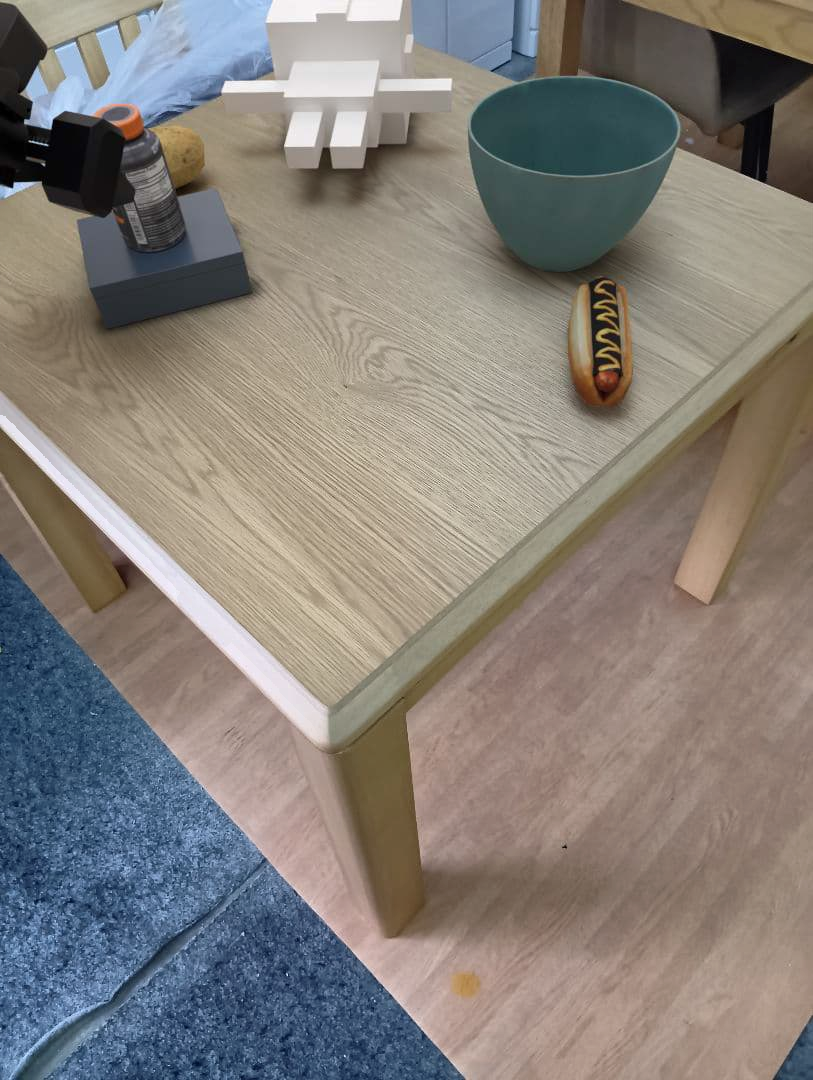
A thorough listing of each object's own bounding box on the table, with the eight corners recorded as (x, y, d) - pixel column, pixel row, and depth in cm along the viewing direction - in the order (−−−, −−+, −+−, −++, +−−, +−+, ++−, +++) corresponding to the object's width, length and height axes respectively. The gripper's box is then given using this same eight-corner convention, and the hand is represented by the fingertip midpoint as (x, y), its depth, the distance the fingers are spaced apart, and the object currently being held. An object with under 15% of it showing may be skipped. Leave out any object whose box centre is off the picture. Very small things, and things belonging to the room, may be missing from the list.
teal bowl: (519, 181, 86) (528, 59, 76) (680, 226, 79) (712, 99, 69) (431, 268, 77) (428, 143, 67) (604, 327, 70) (628, 198, 61)
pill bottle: (126, 222, 76) (81, 100, 67) (187, 214, 76) (151, 91, 67) (122, 258, 73) (75, 134, 63) (187, 249, 73) (149, 124, 64)
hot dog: (565, 420, 64) (572, 373, 60) (563, 316, 72) (570, 268, 68) (627, 423, 63) (640, 376, 59) (619, 318, 71) (629, 270, 67)
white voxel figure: (222, 220, 87) (265, 83, 102) (446, 221, 85) (458, 81, 100) (183, 84, 75) (239, -50, 89) (445, 81, 72) (458, -55, 87)
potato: (209, 200, 86) (194, 143, 81) (108, 208, 86) (87, 151, 81) (214, 168, 90) (200, 112, 85) (118, 175, 90) (98, 120, 85)
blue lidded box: (107, 329, 74) (89, 288, 70) (93, 260, 80) (76, 219, 77) (252, 292, 76) (242, 251, 72) (226, 228, 83) (216, 187, 79)
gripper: (51, -13, 46) (203, 100, 61) (-168, -46, 52) (20, 66, 66) (18, 181, 49) (172, 246, 63) (-189, 131, 54) (-3, 201, 69)
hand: (88, 185), depth 65 cm, fingers open, 9 cm apart
